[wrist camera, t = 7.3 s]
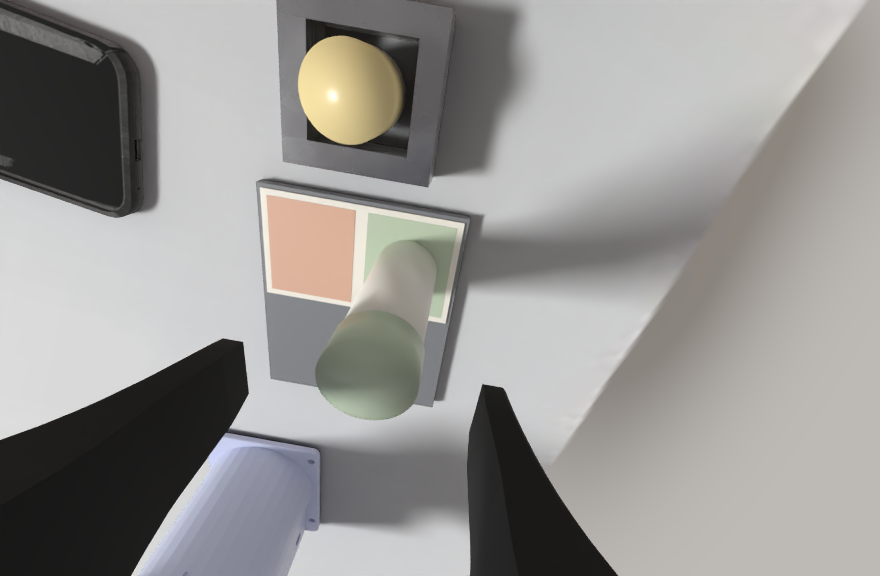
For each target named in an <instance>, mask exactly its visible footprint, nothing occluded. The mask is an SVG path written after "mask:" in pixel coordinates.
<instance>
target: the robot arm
mask: <svg viewBox="0 0 880 576" xmlns="http://www.w3.org/2000/svg"><path fill="white" fill-rule="evenodd" d="M248 394H249V391H248V382H247V373H246V364H245V355H244V346H243V342H240V341H234V340H229V339H221V340H219V341H217V342H215V343H213V344H211V345H209V346H207V347H205V348H203V349H201V350H199V351H197V352H195V353H193V354H192V355H190V356H188V357H186V358H184V359H182V360H180V361H178V362H177V363H175V364H173V365H171V366H169V367H167V368H165V369H163V370H161V371H159V372H157V373H155V374H154V375H152V376H150V377H148V378H146V379H144V380H142V381H140V382H138V383H136V384H133V385H131V386H129V387H127V388H125V389H123V390H121V391H119V392H117V393H115V394H113V395H111V396H109V397H106V398H104V399H102V400H100V401H98V402H96V403H93V404H91V405H89V406H87V407H84V408H82V409H80V410H77V411H75V412H73V413H70V414H68V415H65V416H63V417H60V418H58V419H55V420H53V421H51V422H48V423H46V424H43V425H40V426H38V427H35V428H32V429H30V430H27V431H24V432H21V433H19V434H16V435H13V436H10V437H7V438H5V439H2V440H0V576H131V575H132V573H133V571H134V569H135V568H136V566H137V564H138V562H139V561H140V559H141V557H142V555H143V554H144V552H145V550H146V548H147V547H148V545H149V544H150V542H151V540H152V539H153V537H154V535H155V534H156V532H157V530H158V529H159V527H160V525H161V524H162V522H163V520H164V519H165V517H166V515H167V514H168V512H169V511H170V509H171V508H172V506H173V505H174V503H175V502H176V500H177V499H178V497H179V496H180V495H181V493H182V492H183V491H184V489H185V488H186V486H187V485H188V484H189V482H190V481H191V480H192V478H193V477H194V476H195V474H196V473H197V471H198V470H199V469H200V467H201V466H202V465H203V463H204V462H205V461H206V459H207V458H208V459H209V464H210V469H211V470H210V471H209V473H208V474H207V476H206V477H205V478H204V480H203V481H202V483H201V484H200V486H199V487H198V489H197V490H196V491H195V493H194V494H193V496H192V497H191V499H190V500H189V502H188V503H187V504H186V506H185V507H184V509H183V510H182V512H181V513H180V515H179V516H178V517H177V519H176V520H175V522H174V523H173V525H172V526H171V528H170V529H169V531H168V532H167V533H166V535H165V536H164V538H163V539H162V541H161V542H160V544H159V545H158V546H157V548H156V549H155V551H154V552H153V554H152V555H151V557H150V558H149V559H148V561H147V562H146V564H145V565H144V567H143V568H142V570H141V571H140V572H139V574H138V575H137V576H287V575H288V572H289V570H290V567H291V564H292V562H293V559H294V557H295V554H296V551H297V549H298V546H299V544H300V541H301V538H302V536H303V533H304V531H305V530H308V531H317V530H318V528H319V525H320V452H319V451H318V450H317V449H314V448H309V447H304V446H298V445H293V444H287V443H281V442H276V441H270V440H264V439H259V438H253V437H247V436H242V435H236V434H230V433H226V432H227V430H228V429H229V427H230V426H231V425H232V423H233V421H234V419H235V418H236V416H237V414H238V412H239V411H240V409H241V407H242V405H243V403H244V401H245V399H246V398H247V396H248ZM467 477H468V501H469V525H470V556H471V567H470V576H618V575H617V574H616V572H615V571H614V570H613V569H612V567H611V566H610V565H609V564H608V562H607V561H606V560H605V559H604V557H603V556H602V555H601V554H600V553H599V551H598V550H597V549H596V547H595V546H594V545H593V544H592V543H591V541H590V540H589V539H588V537H587V536H586V534H585V533H584V532H583V530H582V529H581V527H580V526H579V525H578V523H577V522H576V520H575V519H574V518H573V516H572V515H571V513H570V512H569V510H568V509H567V507H566V506H565V504H564V503H563V501H562V500H561V498H560V497H559V495H558V494H557V492H556V490H555V489H554V487H553V485H552V484H551V482H550V481H549V479H548V477H547V475H546V474H545V472H544V470H543V468H542V467H541V465H540V463H539V461H538V460H537V458H536V456H535V454H534V452H533V450H532V448H531V446H530V444H529V442H528V441H527V439H526V437H525V435H524V433H523V431H522V428H521V426H520V424H519V422H518V420H517V418H516V416H515V413H514V411H513V409H512V406H511V404H510V402H509V399H508V397H507V394H506V392H505V390H504V389H503V388H501V387H495V386H490V385H484V384H482V388H481V392H480V395H479V399H478V402H477V406H476V410H475V413H474V417H473V421H472V424H471V428H470V432H469V444H468V460H467Z"/></svg>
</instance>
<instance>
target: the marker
mask: <svg viewBox="0 0 880 576" xmlns="http://www.w3.org/2000/svg"><path fill="white" fill-rule="evenodd" d="M436 276H437V264H436V261H435V258H434V256H433V255H432V253H431V252H430V251H429V250H428V249H427V248H426V247H424V246H423V245H421V244H419V243H417V242H414V241H409V240H400V241H396V242H393V243H391V244H389V245H387V246H386V247H385V248H384V249H383V250H382V252H381V253H380V255H379V257H378V258H377V260H376V262H375V264H374V266H373V268H372V269H371V271H370V273H369V275H368V277H367V279H366V280H365V282H364V284H363V286H362V288H361V290H360V291H359V293H358V295H357V297H356V299H355V301H354V302H353V304H352V306H351V308H350V310H349V312H348V313H347V315H346V317H345V319H344V320H342V321H341V322H340V323H339V325H338V326H337V327H336V329H335V331H334V333H333V334H332V336H331V338H330V340H329V342H328V343H327V345H326V347H325V349H324V350H323V352H322V354H321V356H320V358H319V360H318V362H317V364H316V368H315V379H316V383H317V386H318V388H319V390H320V392H321V394H322V395H323V396H324V398H325V399H326V400H327V401H328V402H329V403H330V404H331V405H333V406H334V407H335V408H337V409H338V410H340V411H342V412H344V413H345V414H348V415H350V416H353V417H356V418H360V419H366V420H384V419H389V418H393V417H396V416H398V415H400V414H402V413H404V412H405V411H406V410H408V409H409V408H410V407H411V406H412V404H413V403H414V401H415V400H416V398H417V395H418V391H419V385H420V380H421V374H422V368H423V362H424V355H425V351H424V341H425V335H426V330H427V324H428V319H429V314H430V308H431V303H432V297H433V292H434V287H435V281H436Z"/></svg>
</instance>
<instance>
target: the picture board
mask: <svg viewBox="0 0 880 576" xmlns="http://www.w3.org/2000/svg"><path fill="white" fill-rule="evenodd" d="M256 188H257V202H258V215H259V228H260V242H261V255H262V269H263V282H264V295H265V309H266V322H267V336H268V349H269V363H270V376H271V379H275V380H281V381H287V382H292V383H298V384H304V385H309V386H315V387H318V386H317V383H316V379H315V368H316V364H317V362H318V360H319V358H320V356H321V354H322V352H323V350H324V349H325V347H326V345H327V343H328V342H329V340H330V338H331V336H332V334H333V333H334V331H335V329H336V327H337V326H338V325H339V323H340V322H341V321H342V320H344V319H345V317H346V315H347V313H348V312H349V310H350V308H351V306H352V304H353V302H354V301H355V299H356V297H357V295H358V293H359V291H360V290H361V288H362V286H363V284H364V282H365V280H366V279H367V277H368V275H369V273H370V271H371V269H372V268H373V266H374V264H375V262H376V260H377V258H378V257H379V255H380V253H381V252H382V250H383V249H384V248H385V247H386V246H387V245H389V244H391V243H393V242H396V241H400V240H409V241H414V242H417V243H419V244H421V245H423V246H424V247H426V248H427V249H428V250H429V251H430V252H431V253H432V255H433V256H434V258H435V261H436V264H437V276H436V281H435V287H434V292H433V297H432V303H431V308H430V314H429V319H428V324H427V330H426V335H425V341H424V351H425V355H424V362H423V368H422V374H421V380H420V385H419V391H418V395H417V398H416V400H415V401H414V403H413V404H416V405H422V406H428V407H433V402H434V397H435V392H436V387H437V382H438V377H439V372H440V367H441V362H442V357H443V352H444V347H445V342H446V337H447V332H448V327H449V322H450V317H451V312H452V307H453V302H454V297H455V292H456V287H457V282H458V277H459V272H460V267H461V262H462V257H463V252H464V247H465V242H466V237H467V232H468V227H469V222H470V216H465V215H459V214H454V213H448V212H442V211H437V210H431V209H426V208H420V207H414V206H409V205H403V204H397V203H392V202H386V201H380V200H375V199H369V198H363V197H358V196H352V195H346V194H341V193H335V192H330V191H324V190H318V189H313V188H307V187H301V186H296V185H290V184H284V183H279V182H273V181H267V180H262V179H261V180H259V181H257V182H256Z"/></svg>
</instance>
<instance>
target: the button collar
mask: <svg viewBox="0 0 880 576" xmlns="http://www.w3.org/2000/svg"><path fill="white" fill-rule="evenodd" d="M276 1H277V26H278V51H279V75H280V100H281V125H282V150H283V162H288V163H293V164H299V165H305V166H310V167H316V168H322V169H327V170H333V171H339V172H344V173H350V174H356V175H361V176H367V177H372V178H378V179H384V180H389V181H395V182H401V183H406V184H412V185H418V186H423V187H429V185H430V182H431V180H432V178H433V174H434V167H435V160H436V153H437V146H438V139H439V132H440V125H441V118H442V111H443V104H444V97H445V91H446V84H447V77H448V70H449V63H450V56H451V49H452V42H453V35H454V28H455V21H456V16H455V13H454V9H453V8H449V7H443V6H437V5H432V4H426V3H420V2H415V1H409V0H276ZM326 26H327V27H333V28H338V29H344V30H350V31H355V32H361V33H367V34H372V35H378V36H384V37H389V38H395V39H401V40H406V41H412V42H417V43H419V50H418V59H417V68H416V77H415V87H414V96H413V105H412V114H411V123H410V132H409V142H408V149H404V148H398V147H393V146H387V145H381V144H376V143H370V142H364V143H362V144H356V145H348V144H342V143H338V142H335V141H333V140H331V139H329V138H327V137H326V136H324V135H323V134H321V133H320V132H319V131H318V130H317V129H316V128H315V127H314V126H313V125H312V123H311V122H310V120H309V119H308V117H307V116H306V114H305V112H304V109H303V107H302V104H301V101H300V97H299V91H298V77H299V71H300V67H301V64H302V62H303V60H304V58H305V56H306V54H307V53H308V52H309V50H310V49H311V48H312V47H313V46H314V45H315V44H317V43H318V42H320V41H321V40H323V39H326Z"/></svg>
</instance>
